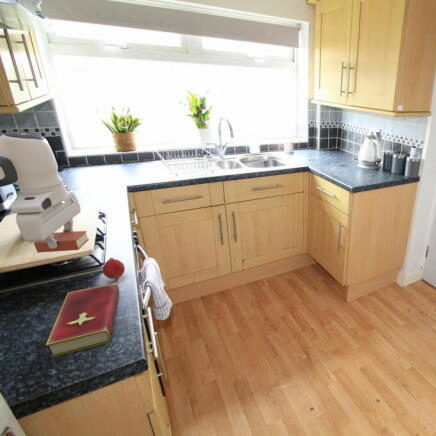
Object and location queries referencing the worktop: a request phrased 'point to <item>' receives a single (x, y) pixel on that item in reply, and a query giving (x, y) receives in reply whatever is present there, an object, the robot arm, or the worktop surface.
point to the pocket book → (64, 242)
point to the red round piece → (113, 268)
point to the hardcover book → (84, 320)
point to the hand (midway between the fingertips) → (62, 240)
